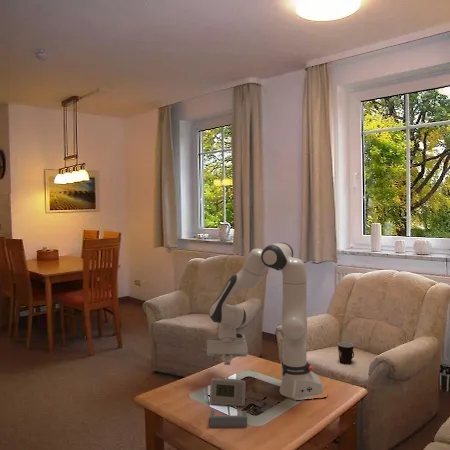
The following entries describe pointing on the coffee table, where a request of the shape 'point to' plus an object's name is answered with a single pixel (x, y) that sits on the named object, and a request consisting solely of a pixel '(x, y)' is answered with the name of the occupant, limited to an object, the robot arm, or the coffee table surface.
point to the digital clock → (227, 392)
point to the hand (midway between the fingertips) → (227, 364)
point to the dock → (228, 420)
